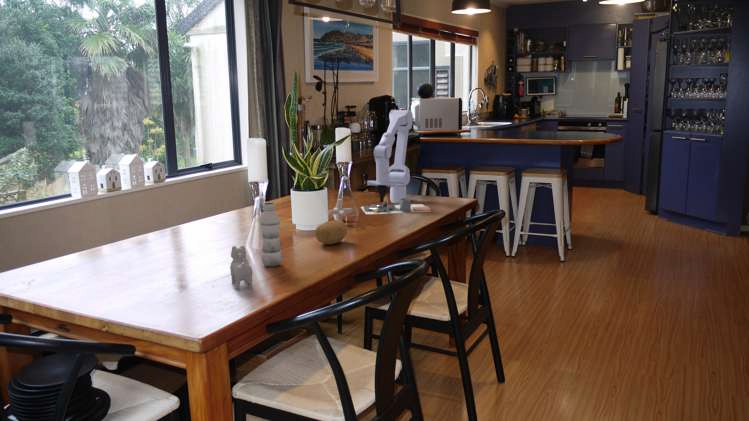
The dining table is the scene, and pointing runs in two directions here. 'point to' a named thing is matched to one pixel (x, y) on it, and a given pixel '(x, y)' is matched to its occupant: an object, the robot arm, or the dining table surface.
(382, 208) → the sprocket
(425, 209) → the board
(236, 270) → the dog figurine
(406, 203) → the grey rectangular block
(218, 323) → the dining table surface
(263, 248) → the grey tiered tower
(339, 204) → the pipe connector
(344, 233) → the potato
